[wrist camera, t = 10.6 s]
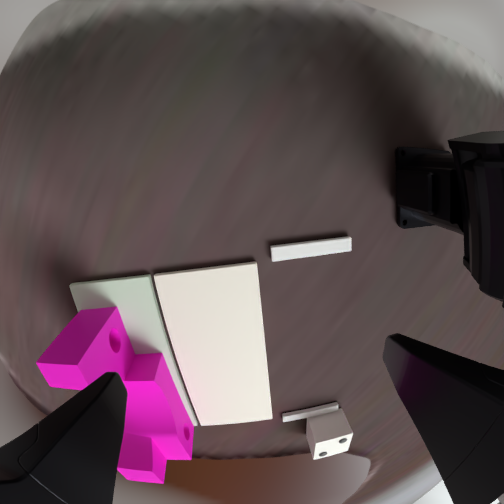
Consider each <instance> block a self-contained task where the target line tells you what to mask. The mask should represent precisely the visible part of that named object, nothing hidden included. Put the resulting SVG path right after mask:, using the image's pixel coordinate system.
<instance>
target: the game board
mask: <svg viewBox="0 0 504 504" xmlns="http://www.w3.org/2000/svg"><path fill="white" fill-rule="evenodd" d="M270 249H271V260H272V262H273V261H281V260H288V259H296V258H303V257H311V256H318V255H325V254H333V253H340V252H347V251H351V237H349V236H347V237H339V238H330V239H322V240H314V241H306V242H298V243H290V244H281V245H273V246H270ZM154 279H155V284H156V288H157V292H158V296H159V300H160V304H161V307H162V311H163V315H164V319H165V322H166V326H167V329H168V333H169V336H170V339H171V343H172V346H173V349H174V352H175V355H176V359H177V362H178V365H179V368H180V371H181V374H182V376H183V379H184V382H185V385H186V388H187V391H188V393H189V396H190V399H191V401H192V404H193V407H194V409H195V412H196V414H197V417H198V419H199V422H200V424H201V426H204V425H221V424H233V423H243V422H252V421H260V420H267V419H272V409H271V399H270V389H269V378H268V368H267V358H266V349H265V339H264V329H263V319H262V309H261V299H260V290H259V280H258V270H257V263H256V261H255V262H247V263H239V264H231V265H223V266H215V267H207V268H199V269H190V270H182V271H174V272H165V273H157V274H155V275H154ZM69 287H70V290H71V293H72V296H73V299H74V302H75V305H76V308H77V311H78V312H79V311H80V310H86V309H97V308H107V307H118V310H119V313H120V316H121V318H122V321H123V324H124V327H125V329H126V332H127V334H128V337H129V339H130V342H131V344H132V347H133V349H134V352H135V354H151V353H163V356H164V359H165V361H166V364H167V366H168V369H169V371H170V374H171V376H172V379H173V381H174V384H175V386H176V388H177V391H178V393H179V395H180V398H181V400H182V402H183V404H184V406H185V409H186V411H187V413H188V415H189V417H190V419H191V421H192V424H193V426H197V423H198V422H197V420H196V417H195V415H194V412H193V410H192V407H191V405H190V402H189V400H188V397H187V394H186V392H185V389H184V386H183V383H182V381H181V378H180V375H179V372H178V369H177V366H176V363H175V360H174V357H173V354H172V351H171V348H170V345H169V342H168V338H167V335H166V332H165V328H164V325H163V321H162V318H161V314H160V310H159V307H158V303H157V299H156V295H155V291H154V287H153V283H152V279H151V275H150V274H148V275H140V276H131V277H122V278H113V279H105V280H96V281H86V282H77V283H71V284H70V285H69ZM337 410H338V402H334V403H330V404H326V405H322V406H317V407H313V408H308V409H304V410H299V411H293V412H288V413H282V418H283V422H287V421H293V420H298V419H303V418H308V417H312V416H317V415H321V414H325V413H329V412H333V411H337Z"/></svg>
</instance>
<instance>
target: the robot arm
mask: <svg viewBox="0 0 504 504" xmlns="http://www.w3.org/2000/svg"><path fill="white" fill-rule="evenodd" d="M448 143H449V147H450V149H451V150H452V154H451V153H450V152H449V151H443V150H434V149H424V148H413V147H397V148H396V150H395V157H396V183H397V209H398V212H397V223H398V226H399V227H401V228H404V229H406V228H415V227H423V226H432V225H437V226H440V227H443V228H446V229H449V230H451V231H454V232H457V233H460V234H462V235H464V257H463V264H464V266H465V267H466V268H467V269H468V270H469V271H470V272H471V275H472V276H473V278H474V279H475V280H476V281H477V283H478V284H479V289H480V290H481V291H482V292H483V293H485V294H487V295H488V296H490V297H493V298H495V299H497V300H500V301H503V304H502V307H503V308H504V131H493V132H481V133H476V134H472V135H467V136H463V137H459V138H454V139H450V140H448ZM401 151H402V153H403V154H402V155H401V153H400V152H401ZM403 220H404V224H403V223H402V222H403ZM383 360H384V363H385V365H386V367H387V370H388V372H389V374H390V376H391V379H392V381H393V383H394V386H395V388H396V390H397V393H398V395H399V397H400V398H401V400H402V402H403V404H404V406H405V407H406V409H407V411H408V413H409V415H410V416H411V418H412V420H413V422H414V424H415V426H416V428H417V429H418V431H419V433H420V435H421V437H422V439H423V441H424V443H425V445H426V447H427V448H428V450H429V452H430V454H431V456H432V458H433V460H434V462H435V464H436V466H437V468H438V471H439V473H440V475H441V477H442V479H443V481H444V483H445V486H446V488H447V490H448V492H449V494H450V496H451V498H452V501H453V503H454V504H490V503H492V502H493V501H495V500H496V499H497V498H498V500H499V501H500V502H499V503H498V504H504V370H501V369H498V368H494V367H491V366H488V365H485V364H482V363H479V362H476V361H474V360H471V359H468V358H465V357H462V356H459V355H456V354H454V353H451V352H448V351H445V350H442V349H440V348H437V347H434V346H431V345H429V344H426V343H423V342H420V341H418V340H415V339H412V338H409V337H407V336H404V335H401V334H399V333H396V334H392V335H389V336H388V337H387V338H386V341H385V347H384V352H383ZM127 397H128V393H127V389H126V387H125V385H124V383H123V381H122V379H121V377H120V375H119V374H118V373H117V372H105V373H104V374H103V375H101V376H100V377H99V378H97V379H96V380H95V381H93V382H92V383H91V384H89V385H88V386H87V387H85V388H84V389H83V390H81V391H80V392H79V393H77V394H76V395H75V396H73V397H72V398H71V399H69V400H68V401H67V402H65V403H64V404H63V405H61V406H60V407H59V408H57V409H56V410H55V411H53V412H52V413H51V414H49V415H48V416H47V417H45V418H44V419H42V420H41V421H40V422H39V424H38V423H37V424H36V425H34V426H33V427H32V428H30V429H29V430H28V431H26V432H25V433H23V434H22V435H20V436H19V437H17V438H15V439H14V440H13V441H10V442H9V443H7V444H5V445H4V446H2V447H0V504H112V501H113V493H114V486H115V480H116V473H117V467H118V461H119V455H120V450H121V445H122V439H123V434H124V426H125V415H126V405H127Z"/></svg>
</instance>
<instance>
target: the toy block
mask: <svg viewBox="0 0 504 504" xmlns="http://www.w3.org/2000/svg"><path fill="white" fill-rule="evenodd" d="M36 363H37V365H38V367H39V369H40V371H41V372H42V374H43V376H44V377H45V379H46V381H47V382H48V384H49V385H50V387H57V388H66V389H75V390H83V389H84V388H85V387H87V386H88V385H89V384H91V383H92V382H93V381H95V380H96V379H97V378H99V377H100V376H101V375H103V374H104V373H105V372H117V373H118V374H119V375H120V377H121V379H122V381H123V383H124V385H125V387H126V389H127V393H128V397H127V405H126V415H125V426H124V434H123V439H122V445H121V450H120V455H119V461H118V467H117V470H118V471H119V472H120V473H121V474H122V475H123V476H124V477H125V478H126V479H127V480H133V481H141V482H151V483H162V484H163V483H164V476H165V469H166V461H167V459H168V460H191V459H192V444H193V431H194V426H193V424H192V421H191V419H190V417H189V415H188V413H187V411H186V409H185V406H184V404H183V402H182V400H181V398H180V395H179V393H178V391H177V388H176V386H175V384H174V381H173V379H172V376H171V374H170V371H169V369H168V366H167V364H166V361H165V359H164V356H163V353H151V354H135V352H134V349H133V347H132V344H131V342H130V339H129V337H128V334H127V332H126V329H125V327H124V324H123V321H122V318H121V316H120V313H119V310H118V307H107V308H97V309H86V310H80V311H79V312H78V313H77V314H76V316H75V317H74V318H73V319H72V320H71V321H70V322H69V323H68V325H67V326H66V327H65V328H64V329H63V330H62V332H61V333H60V334H59V335H58V336H57V337H56V339H55V340H54V341H53V342H52V343H51V345H50V346H49V347H48V348H47V349H46V351H45V352H44V353H43V354H42V356H41V357H40V358H39V359H38V361H37V362H36Z"/></svg>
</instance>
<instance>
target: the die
mask: <svg viewBox="0 0 504 504" xmlns="http://www.w3.org/2000/svg"><path fill="white" fill-rule="evenodd" d="M352 435H353V432H352V430H351V427H350V425H349V423H348V421H347V419H346V417H345V414H344V412H343V410H342V408H340V409H338V410H337V411H333V412H329V413H325V414H321V415H317V416H312V417H308V418H307V426H306V437H307V440H308V443H309V446H310V450H311V453H312V456H313V459H319V458H323V457H327V456H331V455H334V454H338V453H341V452H345V451H348V448H349V445H350V442H351V438H352Z"/></svg>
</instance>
